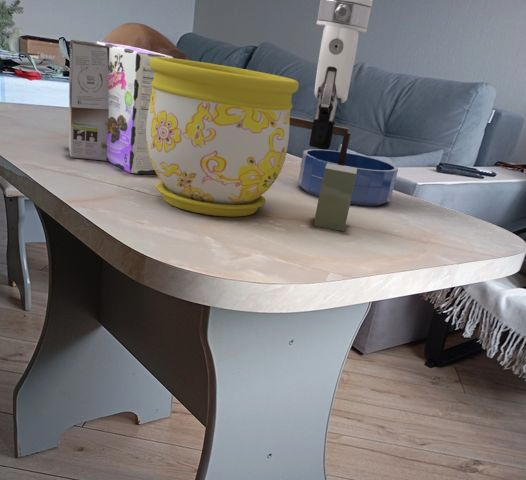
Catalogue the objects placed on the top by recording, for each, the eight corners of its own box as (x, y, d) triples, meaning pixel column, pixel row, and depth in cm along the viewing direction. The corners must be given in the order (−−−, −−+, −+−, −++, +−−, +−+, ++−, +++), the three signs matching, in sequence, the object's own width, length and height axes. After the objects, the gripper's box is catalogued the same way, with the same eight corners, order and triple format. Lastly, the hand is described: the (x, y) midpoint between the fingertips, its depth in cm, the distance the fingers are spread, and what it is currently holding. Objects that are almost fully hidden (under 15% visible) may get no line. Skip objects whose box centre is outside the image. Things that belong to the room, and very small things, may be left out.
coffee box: (113, 162, 96) (118, 48, 88) (69, 158, 93) (71, 40, 86) (107, 150, 103) (111, 44, 96) (67, 146, 101) (68, 38, 94)
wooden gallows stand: (351, 183, 103) (364, 130, 99) (351, 189, 98) (364, 133, 94) (267, 166, 104) (276, 112, 100) (262, 170, 99) (272, 114, 95)
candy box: (91, 153, 99) (94, 39, 92) (125, 154, 102) (131, 45, 95) (129, 174, 89) (136, 49, 82) (165, 174, 93) (175, 55, 86)
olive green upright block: (345, 223, 83) (357, 168, 80) (344, 231, 79) (356, 173, 76) (316, 218, 83) (326, 162, 80) (313, 225, 79) (324, 167, 76)
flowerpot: (282, 201, 89) (302, 79, 82) (270, 233, 73) (294, 84, 66) (160, 179, 90) (170, 56, 82) (122, 206, 74) (130, 56, 66)
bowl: (388, 193, 107) (395, 161, 105) (390, 212, 93) (399, 176, 91) (302, 177, 108) (308, 145, 106) (292, 194, 94) (299, 157, 92)
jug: (90, 151, 100) (232, 182, 121) (126, 26, 91) (273, 82, 112) (47, 103, 112) (183, 139, 132) (76, -11, 103) (217, 46, 123)
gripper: (368, 19, 83) (340, 157, 91) (368, 25, 97) (344, 145, 105) (313, 10, 84) (290, 148, 92) (322, 17, 98) (301, 137, 106)
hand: (319, 146), depth 99 cm, fingers closed on wooden gallows stand, 1 cm apart
